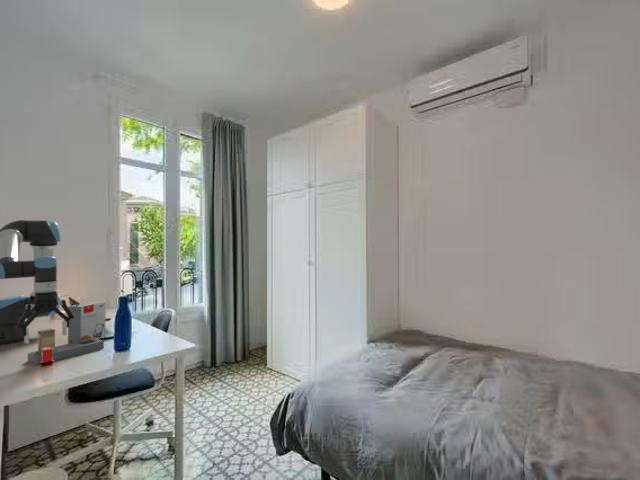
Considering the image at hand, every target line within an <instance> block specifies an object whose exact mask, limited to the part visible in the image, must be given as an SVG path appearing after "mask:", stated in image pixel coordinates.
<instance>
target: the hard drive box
mask: <svg viewBox="0 0 640 480" xmlns="http://www.w3.org/2000/svg"><path fill="white" fill-rule="evenodd" d="M106 302H107V301H95V300H94V301H89V302H85V303H79V305H78V304H74V305H69V306H67V307H68V308H69V310H70V311H71V313H72V314H73V316H74V318H72V319H70V321H69V327H67V344H70V343H74V342H78V341H82V340H87V339H91V338H96V339H100V338H102V337H105V338H106V304H107V303H106ZM76 305H78V306H76ZM100 340H101V339H100Z"/></svg>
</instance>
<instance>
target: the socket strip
mask: <svg viewBox="0 0 640 480" xmlns="http://www.w3.org/2000/svg"><path fill="white" fill-rule="evenodd" d="M104 345H105V343H104V340H103V339H100V340H99V339H96V338H91V339H87V340H82V341H78V342H74V343H70V344H68V343H66V344H61V345H57V346H55V352H52V357H53V360H54V361H53V362H55V361H60V360H63V359H68V358H70V357H71V358H72V357H75V356H79V355H82V354H86V353H91V352H93V351H97V350H101V349H104V347H105V346H104ZM27 361H28V362H29V363H31V364H32V365H35V366H40V365H42V364H41V361H42V355H40V354H38V350H37V351H32V352H28V353H27Z"/></svg>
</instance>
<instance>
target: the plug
mask: <svg viewBox="0 0 640 480" xmlns="http://www.w3.org/2000/svg"><path fill="white" fill-rule="evenodd" d="M37 342H38V343H37V346H38V347H37V348H38V349H37V351H38V354H40V355H41V353H42V349H43V348H45V347H51V348H52V352H55V347H56V330H55V329H53V328H48V329H41V330H38V331H37Z"/></svg>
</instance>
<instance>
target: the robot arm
mask: <svg viewBox="0 0 640 480" xmlns="http://www.w3.org/2000/svg"><path fill="white" fill-rule="evenodd" d="M60 242H61V234H60V227H59V225H58V223H57V221H54V220H53V221H52V220H32V219H31V220H24V219H23V220H22V219H20V220H15V221H12V222H11V221H10V222H9V223H6V224H5V225H3V226H1V228H0V280H7V279H21V278H33V291H31V293H30V294H29V296H27V297H26V295H24V294H20V295H19V294H18V295H11V296H7V297H3V298H0V345H7V344H12V343H13V344H14V343H17V342H21V341H24V344H26V345H28V344H29V343H30V328H29V325H30V324H32V323H33V321H34V320H35V319H36V318H43V317H44V318H45V317H46V318H47V317H50V316H56V315H58V316H59V317H60V318H62V319H63V320H61V321H62V323H61V324H62V329H61V331H62V332H61V333H62V336H68V327H69V321H70V319H72V318H74V316H73V314H72V313H71V311H70V310H69V308H68V307H69V306H68V305H67V303H66V300H65V299H61V295H60V294H59V293H58V291H57V289H58V284H57V283H58V280H57V279H58V278H57V277H58V274H57V271H58V270H57V269H58V267H57V266H58V262H57V257H56V256H54V255H55V254H54V252H55V250H54V249H55V247H58V243H60ZM21 243H29V247H31V248H32V250H33V260H20V257H21V254H20V253H21ZM60 306H61V308H62V309H63V311H64V312H65V313H64V312H62V311H61V310H60Z"/></svg>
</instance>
